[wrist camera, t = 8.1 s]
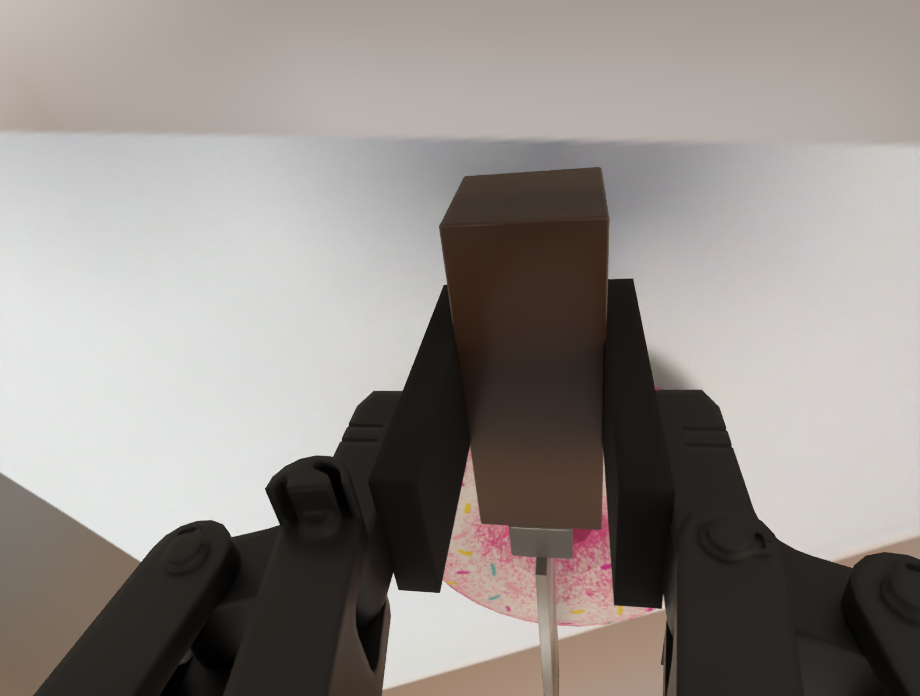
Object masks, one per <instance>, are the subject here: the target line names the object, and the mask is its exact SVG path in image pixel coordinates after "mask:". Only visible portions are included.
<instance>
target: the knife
mask: <svg viewBox="0 0 920 696" xmlns="http://www.w3.org/2000/svg"><path fill="white" fill-rule="evenodd" d="M439 229H440V237H441V244H442V251H443V258H444V265H445V272H446V279H447V286H448V294H449V301H450V308H451V315H452V322H453V329H454V336H455V343H456V345H457V352H458V359H459V366H460V373H461V380H462V387H463V394H464V401H465V409H466V416H467V423H468V430H469V437H470V450H471V457H472V465H473V472H474V479H475V486H476V493H477V500H478V507H479V514H480V521H481V524H490V525H509V536H510V546H511V553H512V555H513V556H524V557H536V569H535V579H536V593H537V607H538V621H539V636H540V650H541V663H542V678H543V691H544V696H559V659H558V635H557V611H556V588H555V564H554V558H557V559H572V557H573V529H591V530H601V528H602V499H603V458H604V453H603V424H604V376H605V342H606V336H607V295H608V255H609V212H608V206H607V200H606V193H605V187H604V180H603V174H602V169H601V168H600V167H593V168H579V169H565V170H550V171H536V172H521V173H507V174H493V175H478V176H465V177H464V178H463V180H462V182H461V184H460V186H459V188H458V190H457V192H456V194H455V196H454V198H453V200H452V202H451V204H450V206H449V208H448V210H447V212H446V214H445V216H444V218H443V220H442V222H441V224H440V226H439Z"/></svg>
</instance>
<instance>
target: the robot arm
mask: <svg viewBox="0 0 920 696" xmlns="http://www.w3.org/2000/svg"><path fill="white" fill-rule="evenodd" d="M469 448H470V437H469V430H468V423H467V416H466V409H465V401H464V394H463V387H462V380H461V373H460V366H459V359H458V352H457V345H456V343H455V336H454V329H453V322H452V315H451V308H450V301H449V294H448V286H447V285H444V286H443V289H442V291H441V294H440V296H439V299H438V302H437V304H436V307H435V309H434V312H433V314H432V317H431V320H430V322H429V325H428V327H427V330H426V333H425V335H424V338H423V340H422V343H421V345H420V348H419V351H418V353H417V356H416V358H415V361H414V363H413V366H412V369H411V371H410V374H409V376H408V379H407V382H406V384H405V387H404V389H403V391H373V392H372V393H371V394H370V395H369V396H368V397H367V398H366V399H365V400H363V401H362V402H361V403H360V404H359V405H358V406H357V408H356V410H355V412H354V414H353V416H352V418H351V420H350V422H349V427H347V429H346V431H345V433H344V435H343V437H342V442H340V443H339V445H338V448H337V450H336V452H335V454H334V456H333V457H331V456H312V457H307V458H303V459H299V460H297V461H295V462H293V463H291V464H289V465H287V466H285V467H284V468H283V469H282V470H280V471H279V472H278V473H277V474H276V475H274V476H273V477H272V479H271V480H270V482H269V484H268V485H267V487H266V488H265V490H266V492H267V495H268V497H269V500H270V502H271V504H272V507H273V509H274V511H275V514H276V516H277V518H278V521H279V523H280V525H279V526H275V527H272V528H269V529H266V530H261V531H257V532H253V533H248V534H244V535H240V536H235V537H231V535H230V533H229V532H228V530H227V529H226V528H225V526H224V525H223V524H220V523H218V522H215V521H212V520H208V521H196V522H193V523H189V524H186V525H183V526H181V527H179V528H177V529H176V530H174V531H172V532H171V533H169V534H167V535H166V536H165V537H164V538H163V539H162V540H161V541H159V542H158V543H157V544H156V545H155V546H154V547H153V548H152V550H151V551H150V552H149V553H148V554H147V556H146V557H145V558H144V559H143V561H142V562H141V563H140V564H139V566H138V567H137V568H136V569H135V571H134V572H133V573H132V574H131V576H130V577H129V578H128V579H127V580H126V582H125V583H124V584H123V585H122V587H121V588H120V589H119V590H118V591H117V593H116V594H115V595H114V597H113V598H112V599H111V600H110V601H109V603H108V604H107V605H106V606H105V608H104V609H103V610H102V611H101V613H100V614H99V615H98V616H97V617H96V619H95V620H94V621H93V622H92V624H91V625H90V626H89V627H88V629H87V630H86V631H85V632H84V634H83V635H82V636H81V637H80V638H79V640H78V641H77V642H76V643H75V645H74V646H73V647H72V648H71V650H70V651H69V652H68V653H67V654H66V656H65V657H64V658H63V659H62V661H61V662H60V663H59V664H58V666H57V667H56V668H55V669H54V671H53V672H52V673H51V674H50V675H49V677H48V678H47V679H46V680H45V682H44V683H43V684H42V685H41V687H40V688H39V689H38V690H37V692H36V693H35V694H34V695H33V696H382V688H383V679H384V670H385V662H386V653H387V644H388V635H389V627H390V618H391V614H390V604H389V600H388V597H387V592H388V589H389V585H390V582H391V579H392V575H393V572H394V576H395V579H396V583H397V586H398V590H406V591H420V592H434V593H440V590H441V585H442V580H443V575H444V570H445V565H446V561H447V556H448V551H449V546H450V541H451V536H452V531H453V526H454V521H455V517H456V512H457V507H458V502H459V497H460V492H461V487H462V482H463V478H464V473H465V468H466V463H467V458H468V453H469ZM603 453H604V467H605V482H606V497H607V511H608V526H609V541H610V555H611V570H612V585H613V599H614V605H616V606H630V607H644V608H658V609H662V602H663V595H664V602H665V608H666V615H667V622H666V629H665V638H664V645H663V654H662V660H661V665H664V672H663V696H920V559H917V558H914V557H912V556H908V555H903V554H895V553H887V552H883V553H878V554H872V555H867V556H865V557H864V558H863V559H861V560H860V561H859V562H858V563H857V564H855V565H854V567H853V568H850V567H847V566H844V565H840V564H837V563H834V562H830V561H827V560H824V559H820V558H817V557H814V556H811V555H808V554H805V553H803V552H800V551H798V550H795V549H793V548H792V547H790V546H788V545H786V544H785V543H783V542H781V541H780V540H778V539H777V538H776V537H775V535H774V533H773V532H772V531H771V530H770V529H769V528H768V527H767V526H766V525H765V524H764V523H763V522H762V521H761V520H759V519H758V517H757V515H756V513H755V511H754V509H753V506H752V503H751V500H750V497H749V494H748V491H747V488H746V485H745V482H744V479H743V476H742V473H741V471H740V468H739V465H738V462H737V459H736V456H735V453H734V450H733V448H732V447H731V441H730V438H729V435H728V432H727V431H726V426H725V423H724V420H723V417H722V414H721V411H720V408H719V406H718V405H717V404H716V403H715V402H714V401H713V400H712V399H711V398H710V397H708V396H707V395H706V394H705V393H704V392H703V391H702V390H655V386H654V381H653V376H652V371H651V366H650V361H649V356H648V351H647V346H646V341H645V336H644V331H643V326H642V321H641V316H640V311H639V306H638V301H637V296H636V291H635V286H634V281H633V279H608V295H607V336H606V342H605V376H604V424H603Z"/></svg>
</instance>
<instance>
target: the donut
mask: <svg viewBox="0 0 920 696" xmlns="http://www.w3.org/2000/svg"><path fill="white" fill-rule="evenodd" d="M654 386H655V385H654ZM655 390H660V389H659V388H657V387H656V386H655ZM554 564H555V588H556V611H557V625H560V626H590V625H603V624H610V623H614V622H619V621H624V620H628V619H632V618H635V617H637V616H640V615H642V614H645V613H647V612H650V611H653V610H655V609H656V608H644V607H630V606H616V605H614V599H613V585H612V570H611V555H610V541H609V526H608V511H607V497H606V482H605V467H604V458H603V499H602V528H601V530H591V529H573V557H572V559H557V558H554ZM535 569H536V557H524V556H513V555H512V553H511V546H510V536H509V525H490V524H481V521H480V514H479V507H478V500H477V493H476V486H475V479H474V472H473V465H472V457H471V450H470V448H469V453H468V458H467V463H466V468H465V473H464V478H463V482H462V487H461V492H460V497H459V502H458V507H457V512H456V517H455V521H454V526H453V531H452V536H451V541H450V546H449V551H448V556H447V561H446V565H445V570H444V575H443V581H444V582H446V583H447V584H448V585H449V586H450V587H451V588H453V589H454V590H456V591H457V592H459V593H460V594H462V595H464V596H465V597H467V598H468V599H470V600H472V601H473V602H475V603H477V604H479V605H482V606H484V607H486V608H488V609H491V610H493V611H495V612H498V613H500V614H504V615H507V616H511V617H514V618H517V619H521V620H524V621H530V622H536V623H539V621H538V607H537V593H536V579H535ZM664 604H665V602H664V595H663V602H662V605H664Z"/></svg>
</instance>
